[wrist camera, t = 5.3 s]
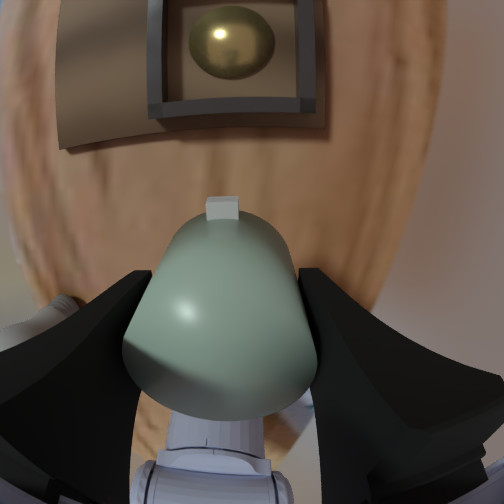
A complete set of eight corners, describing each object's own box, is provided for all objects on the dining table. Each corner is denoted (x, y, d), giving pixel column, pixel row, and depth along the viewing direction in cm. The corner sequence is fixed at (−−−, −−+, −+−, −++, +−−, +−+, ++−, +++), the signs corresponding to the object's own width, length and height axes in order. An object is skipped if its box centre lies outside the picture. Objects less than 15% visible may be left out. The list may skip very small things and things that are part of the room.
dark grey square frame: (310, 113, 14) (315, 113, 13) (155, 119, 14) (148, 119, 13) (306, -18, 10) (311, -26, 9) (155, -11, 10) (149, -19, 9)
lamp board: (322, 127, 15) (324, 128, 14) (64, 148, 15) (59, 149, 14) (315, -45, 10) (317, -49, 9) (67, -10, 9) (63, -13, 9)
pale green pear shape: (287, 327, 12) (302, 426, 8) (178, 327, 12) (154, 423, 8) (294, 193, 10) (335, 267, 5) (155, 197, 10) (89, 270, 5)
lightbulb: (114, 305, 20) (57, 423, 11) (85, 339, 22) (38, 437, 13) (56, 254, 18) (-29, 352, 9) (35, 296, 20) (-29, 384, 10)
